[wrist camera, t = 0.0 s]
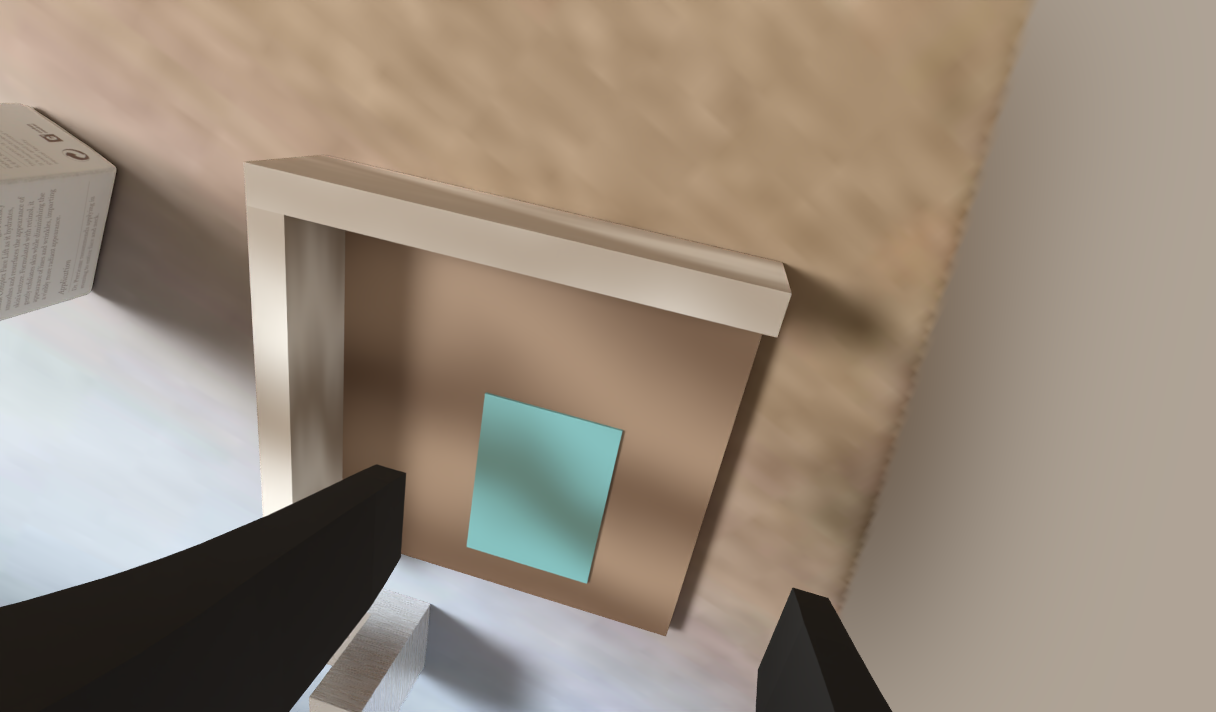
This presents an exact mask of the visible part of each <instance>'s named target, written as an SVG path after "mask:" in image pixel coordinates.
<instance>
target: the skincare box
mask: <svg viewBox="0 0 1216 712" xmlns="http://www.w3.org/2000/svg"><path fill="white" fill-rule="evenodd" d="M115 176H116V167H115V166H114V165H113V164H112V163H110V162H109V161H108V160H106V159H105V158H104V157H102V156H101V155H100V154H99V153H97V152H96V151H94V150H93V149H92V148H90V147H89V146H88V145H86V144H85V143H83V142H81V141H80V140H78V139H77V138H76V137H74V136H73V135H71V134H70V133H68V132H67V131H66V130H64V129H63V128H61V127H60V126H59V125H57V124H56V123H54V122H52V121H51V120H49V119H48V118H46V117H45V116H43V115H42V114H40V113H39V112H37V111H36V110H34V109H33V108H31V107H29V106H26V105H23V104H18V103H0V321H1V320H4V319H8V318H11V317H14V316H18V315H21V314H25V313H28V312H31V311H34V310H38V309H41V308H44V307H48V306H51V305H54V304H58V303H61V302H64V301H68V300H71V299H74V298H77V297H80V296H84V295H87V294H89V293H90V292H91V290H92V285H93V280H94V275H95V270H96V265H97V261H98V256H99V251H100V247H101V242H102V237H103V232H104V228H105V223H106V218H107V214H108V209H109V204H110V199H111V195H112V190H113V185H114V180H115Z"/></svg>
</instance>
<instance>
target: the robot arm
mask: <svg viewBox="0 0 1216 712" xmlns="http://www.w3.org/2000/svg"><path fill="white" fill-rule="evenodd" d="M405 486H406V473H405V472H401V471H398V470H394V469H391V468H388V467H384V466H381V465H378V464H376V465H373V466H371V467H369V468H366V469H364V470H362V471H360V472H358V473H356V474H354V475H351V476H349V477H347V478H345V479H343V480H341V481H339V482H337V483H335V484H333V485H331V486H329V487H327V488H324V489H322V490H320V491H318V492H316V493H314V494H312V495H310V496H308V497H306V498H303V499H301V500H299V501H297V502H295V503H293V504H291V505H289V506H286V507H284V508H282V509H280V510H278V511H276V512H274V513H271V514H269V515H267V516H265V517H263V518H260V519H258V520H256V521H253V522H251V523H248V524H246V525H244V526H241V527H239V528H237V529H234V530H232V531H229V532H227V533H225V534H222V535H220V536H218V537H215V538H213V539H211V540H208V541H206V542H203V543H201V544H199V545H196V546H193V547H191V548H188V549H186V550H183V551H180V552H178V553H175V554H172V555H170V556H167V557H164V558H161V559H159V560H156V561H153V562H150V563H147V564H144V565H141V566H138V567H135V568H132V569H130V570H127V571H124V572H121V573H118V574H115V575H111V576H108V577H105V578H102V579H98V580H95V581H92V582H88V583H85V584H81V585H78V586H74V587H71V588H67V589H64V590H61V591H57V592H54V593H50V594H47V595H43V596H40V597H36V598H33V599H30V600H26V601H22V602H19V603H15V604H11V605H7V606H3V607H0V712H289V711H290V710H291V709H292V707H293V706H294V705H295V704H296V702H297V701H298V700H299V698H300V697H301V696H302V695H303V693H304V692H305V691H306V690H307V688H308V687H309V686H310V684H311V683H312V682H313V681H314V679H315V678H316V677H317V676H318V674H319V673H320V672H321V670H322V669H323V668H324V667H325V665H326V664H327V663H328V662H329V660H330V659H331V658H332V656H333V655H334V654H335V653H336V651H337V650H338V649H339V648H340V646H341V645H342V644H343V642H344V641H345V640H346V639H347V637H348V636H349V635H350V633H351V632H352V631H353V630H354V628H355V627H356V626H357V624H358V623H359V622H360V620H361V619H362V618H363V617H364V615H365V614H366V613H367V611H368V610H369V609H370V607H371V606H372V604H373V603H374V601H375V600H376V598H377V596H378V595H379V593H380V592H381V590H382V588H383V587H384V585H385V583H386V582H387V580H388V578H389V577H390V575H391V573H392V572H393V570H394V568H395V566H396V565H397V563H398V561H399V560H400V558H401V546H402V531H403V516H404V501H405ZM756 712H892V710H891V709H890V707H889V706H888V704H887V702H886V700H885V699H884V697H883V695H882V694H881V692H880V690H879V688H878V687H877V685H876V683H875V681H874V680H873V678H872V676H871V674H870V673H869V671H868V669H867V667H866V665H865V664H864V662H863V660H862V658H861V657H860V655H859V653H858V651H857V650H856V648H855V646H854V644H853V642H852V640H851V638H850V637H849V635H848V633H847V631H846V629H845V628H844V626H843V624H842V622H841V620H840V618H839V616H838V615H837V613H836V611H835V609H834V607H833V606H832V604H831V602H830V600H829V599H828V598H826V597H823V596H819V595H816V594H813V593H809V592H806V591H803V590H799V589H796V588H792V590H791V593H790V595H789V597H788V600H787V602H786V605H785V607H784V609H783V612H782V614H781V616H780V619H779V621H778V624H777V626H776V628H775V631H774V633H773V635H772V638H771V640H770V643H769V645H768V647H767V650H766V652H765V654H764V657H763V659H762V661H761V664H760V666H759V669H758V679H757V697H756Z"/></svg>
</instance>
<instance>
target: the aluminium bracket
mask: <svg viewBox="0 0 1216 712" xmlns="http://www.w3.org/2000/svg"><path fill="white" fill-rule="evenodd" d="M429 615H430V603H427V602H424V601H421V600H418V599H415V598H412V597H408V596H405V595H402V594H399V593H396V592H393V591H390V590H387V589H383V588H382V590H381V592H380V593H379V595H378V596H377V598H376V600H375V601H374V603H373V604H372V606H371V607H370V609H369V610H368V611H367V613H366V614H365V615H364V617H363V618H362V619H361V620H360V622H359V623H358V624H357V626H356V627H355V628H354V630H353V631H352V632H351V633H350V635H349V636H348V637H347V639H346V640H345V641H344V642H343V644H342V645H341V646H340V648H339V649H338V650H337V651H336V653H335V654H334V655H333V656H332V658H331V659H330V660H329V662H328V663H327V664H329V665H331V666H332V667H331V669H330V670H329V672H328V673H327V674H326V676H325V677H324V678H323V680H322V681H321V682H320V684H319V685H318V686H317V688H316V689H315V690H314V692H313V693H312V694H311V696H310V697H309V708H310V712H398V711H399V710H400V708H401V706H402V704H403V703H404V701H405V699H406V698H407V696H408V694H409V692H410V691H411V689H412V687H413V685H414V684H415V682H416V680H417V678H418V677H419V675H420V673H421V671H422V670H423V668H424V666H425V658H426V647H427V636H428V625H429Z"/></svg>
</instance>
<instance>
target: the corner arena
mask: <svg viewBox="0 0 1216 712" xmlns="http://www.w3.org/2000/svg"><path fill="white" fill-rule="evenodd" d="M243 163H244V181H245V199H246V217H247V235H248V253H249V271H250V289H251V307H252V326H253V344H254V362H255V380H256V398H257V416H258V434H259V452H260V471H261V489H262V507H263V517H265V516H267V515H269V514H271V513H274V512H276V511H278V510H280V509H282V508H284V507H286V506H289V505H291V504H293V503H295V502H297V501H299V500H301V499H303V498H306V497H308V496H310V495H312V494H314V493H316V492H318V491H320V490H322V489H324V488H327V487H329V486H331V485H333V484H335V483H337V482H339V481H341V480H343V479H345V478H347V477H349V476H351V475H354V474H356V473H358V472H360V471H362V470H364V469H366V468H369V467H371V466H373V465H376V464H378V465H381V466H384V467H388V468H391V469H394V470H398V471H401V472H405V473H406V486H405V501H404V516H403V531H402V546H401V554H404V555H407V556H410V557H413V558H416V559H420V560H423V561H426V562H429V563H432V564H436V565H439V566H442V567H445V568H448V569H452V570H455V571H458V572H461V573H464V574H468V575H471V576H474V577H477V578H481V579H484V580H487V581H490V582H493V583H497V584H500V585H503V586H506V587H509V588H513V589H516V590H519V591H522V592H525V593H529V594H532V595H535V596H538V597H541V598H545V599H548V600H551V601H554V602H557V603H561V604H564V605H567V606H570V607H573V608H577V609H580V610H583V611H586V612H590V613H593V614H596V615H599V616H602V617H606V618H609V619H612V620H615V621H618V622H622V623H625V624H628V625H631V626H634V627H638V628H641V629H644V630H647V631H650V632H654V633H657V634H660V635H663V636H666V634H667V631H668V628H669V625H670V622H671V619H672V616H673V612H674V609H675V606H676V603H677V600H678V597H679V594H680V591H681V587H682V584H683V581H684V578H685V575H686V572H687V569H688V565H689V562H690V559H691V556H692V553H693V550H694V547H695V544H696V540H697V537H698V534H699V531H700V528H701V525H702V522H703V518H704V515H705V512H706V509H707V506H708V503H709V500H710V497H711V493H712V490H713V487H714V484H715V481H716V478H717V475H718V471H719V468H720V465H721V462H722V459H723V456H724V453H725V450H726V446H727V443H728V440H729V437H730V434H731V431H732V428H733V424H734V421H735V418H736V415H737V412H738V409H739V406H740V403H741V399H742V396H743V393H744V390H745V387H746V384H747V381H748V377H749V374H750V371H751V368H752V365H753V362H754V359H755V356H756V352H757V349H758V346H759V343H760V340H761V337H762V334H765V335H769V336H773V337H778V334H779V330H780V327H781V324H782V321H783V318H784V315H785V312H786V309H787V306H788V303H789V300H790V297H791V294H792V293H791V289H790V286H789V283H788V279H787V276H786V273H785V269H784V266H783V263H782V262H779V261H774V260H770V259H766V258H762V257H757V256H753V255H749V254H745V253H740V252H736V251H732V250H727V249H723V248H719V247H715V246H710V245H706V244H702V243H698V242H693V241H689V240H685V239H681V238H676V237H672V236H668V235H664V234H659V233H655V232H651V231H647V230H642V229H638V228H634V227H629V226H625V225H621V224H617V223H612V222H608V221H604V220H600V219H595V218H591V217H587V216H583V215H578V214H574V213H570V212H566V211H561V210H557V209H553V208H548V207H544V206H540V205H536V204H531V203H527V202H523V201H519V200H514V199H510V198H506V197H502V196H497V195H493V194H489V193H485V192H480V191H476V190H472V189H467V188H463V187H459V186H455V185H450V184H446V183H442V182H438V181H433V180H429V179H425V178H421V177H416V176H412V175H408V174H404V173H399V172H395V171H391V170H386V169H382V168H378V167H374V166H369V165H365V164H361V163H357V162H352V161H348V160H344V159H340V158H335V157H331V156H327V155H316V156H305V157H293V158H282V159H271V160H260V161H248V162H243Z"/></svg>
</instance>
